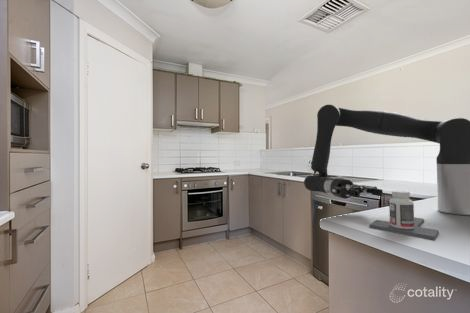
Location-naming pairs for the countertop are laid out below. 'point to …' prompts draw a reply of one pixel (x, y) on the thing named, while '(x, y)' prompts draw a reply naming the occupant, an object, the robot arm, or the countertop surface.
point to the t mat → (414, 232)
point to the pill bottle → (401, 210)
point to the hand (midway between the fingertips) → (370, 193)
